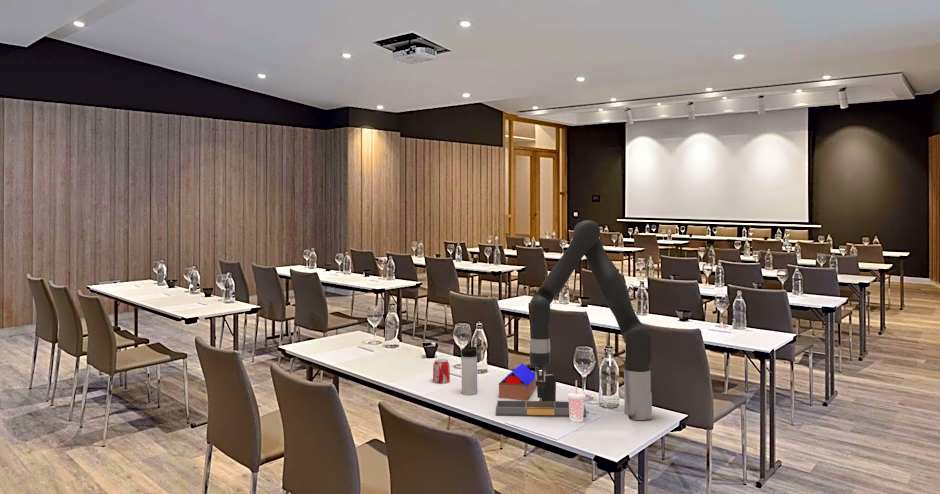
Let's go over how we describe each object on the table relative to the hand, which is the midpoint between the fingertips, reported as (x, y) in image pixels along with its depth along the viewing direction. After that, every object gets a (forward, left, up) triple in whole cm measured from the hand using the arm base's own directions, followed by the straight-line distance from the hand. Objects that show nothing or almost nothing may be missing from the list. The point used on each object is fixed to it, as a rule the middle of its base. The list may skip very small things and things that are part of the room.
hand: (540, 394), depth 238 cm
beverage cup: (-12, +9, -7) cm, 17 cm away
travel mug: (+28, -22, -7) cm, 36 cm away
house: (+9, -26, -7) cm, 28 cm away
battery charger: (-2, -13, -7) cm, 15 cm away
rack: (0, 0, -6) cm, 6 cm away
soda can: (+41, -36, -7) cm, 56 cm away
